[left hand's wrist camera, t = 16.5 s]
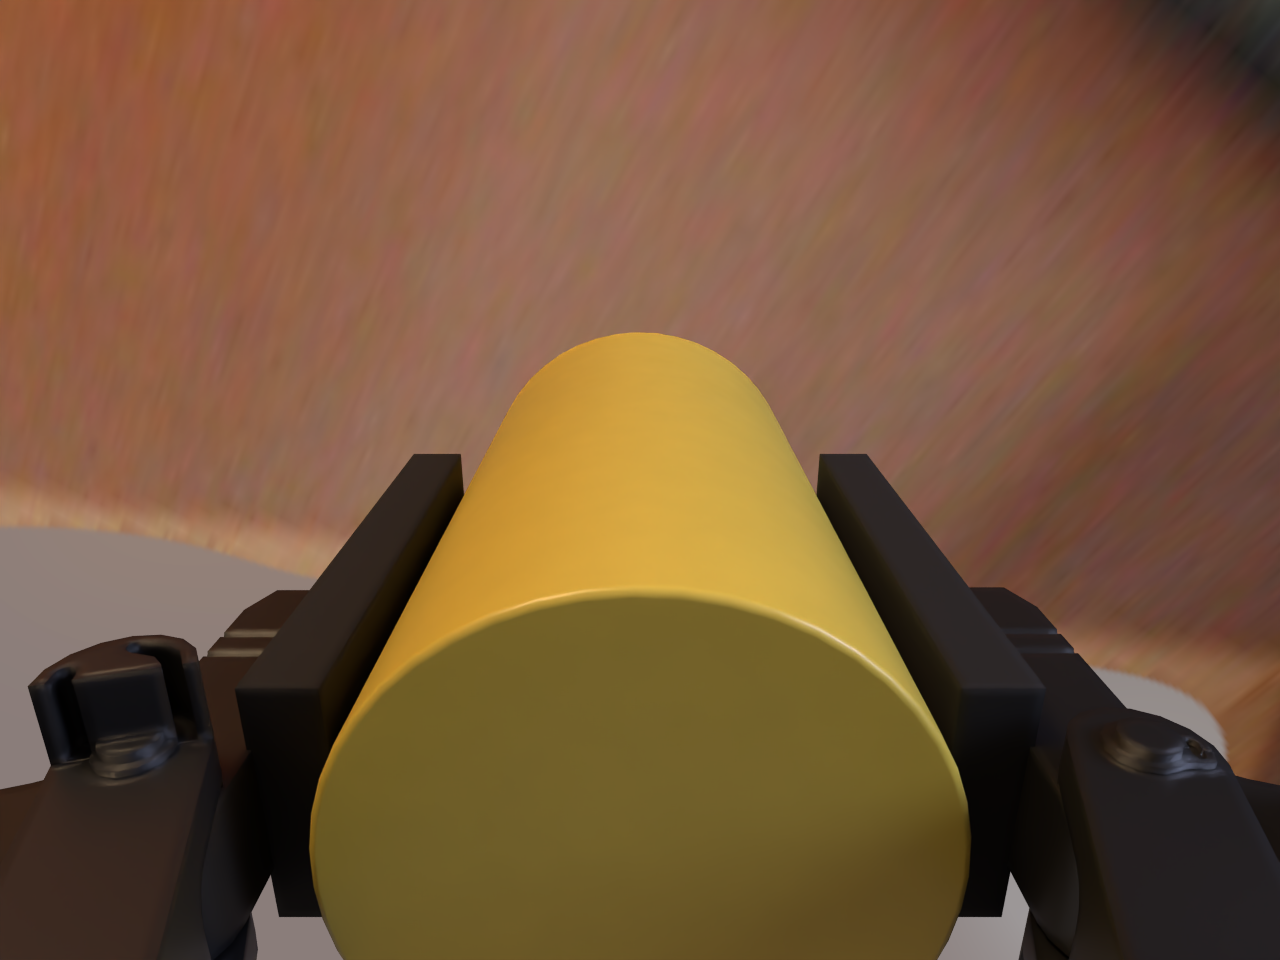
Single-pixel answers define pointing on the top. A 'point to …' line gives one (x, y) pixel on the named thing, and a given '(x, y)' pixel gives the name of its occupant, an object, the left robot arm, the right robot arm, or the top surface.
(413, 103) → the top surface
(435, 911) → the can
